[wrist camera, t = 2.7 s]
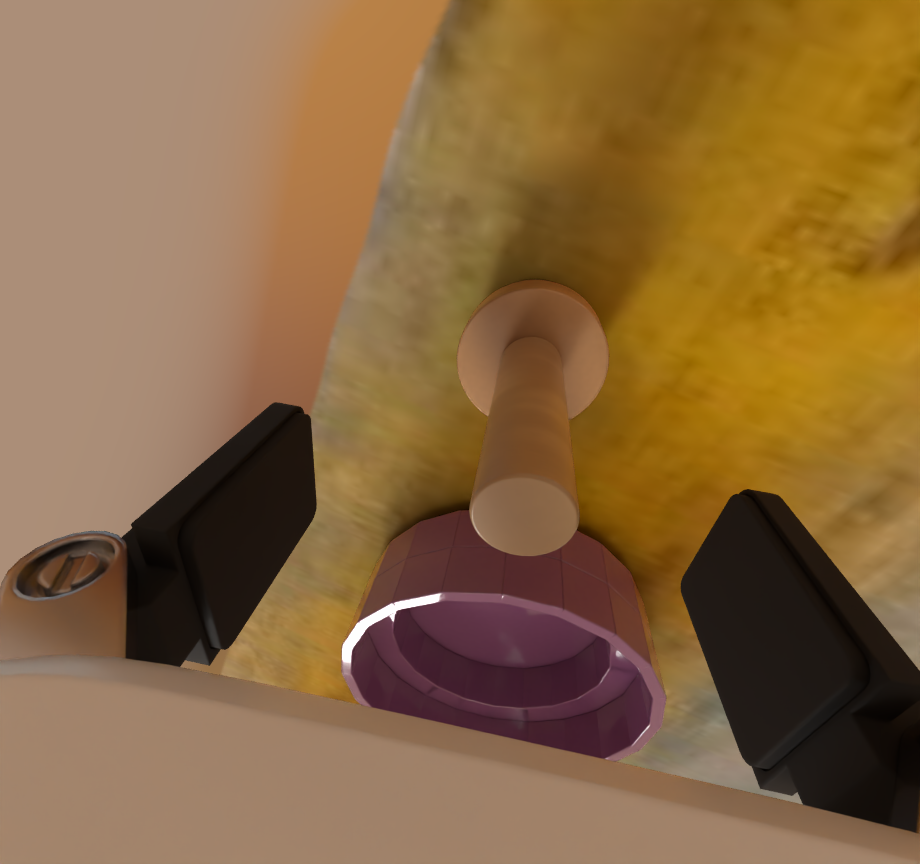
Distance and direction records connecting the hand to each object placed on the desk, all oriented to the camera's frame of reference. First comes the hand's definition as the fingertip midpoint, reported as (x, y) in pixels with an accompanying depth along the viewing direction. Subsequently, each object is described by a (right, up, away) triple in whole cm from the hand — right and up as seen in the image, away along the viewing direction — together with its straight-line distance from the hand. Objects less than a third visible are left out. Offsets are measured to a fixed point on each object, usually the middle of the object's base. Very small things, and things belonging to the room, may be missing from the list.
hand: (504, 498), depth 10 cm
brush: (+2, +5, +8) cm, 10 cm away
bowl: (+2, -9, +17) cm, 19 cm away
